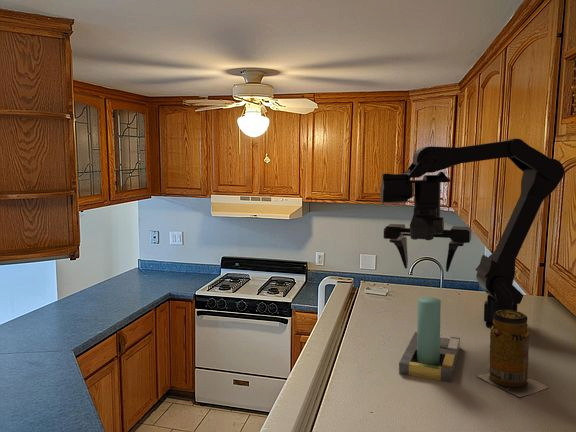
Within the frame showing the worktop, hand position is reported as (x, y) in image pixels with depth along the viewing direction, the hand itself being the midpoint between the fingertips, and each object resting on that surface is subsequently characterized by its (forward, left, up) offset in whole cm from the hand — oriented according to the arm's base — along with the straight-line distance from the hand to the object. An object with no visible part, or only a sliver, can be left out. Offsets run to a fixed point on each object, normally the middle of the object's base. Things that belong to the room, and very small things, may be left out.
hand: (426, 269), depth 106 cm
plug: (-4, +23, -13) cm, 27 cm away
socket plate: (-4, +19, -13) cm, 23 cm away
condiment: (-18, +23, -13) cm, 32 cm away
